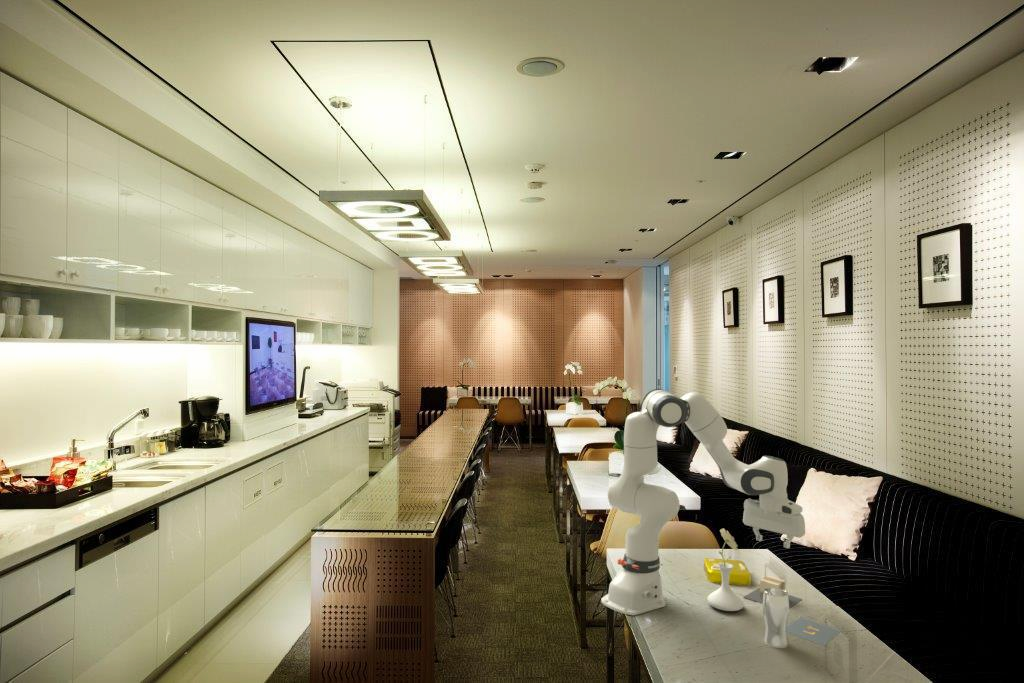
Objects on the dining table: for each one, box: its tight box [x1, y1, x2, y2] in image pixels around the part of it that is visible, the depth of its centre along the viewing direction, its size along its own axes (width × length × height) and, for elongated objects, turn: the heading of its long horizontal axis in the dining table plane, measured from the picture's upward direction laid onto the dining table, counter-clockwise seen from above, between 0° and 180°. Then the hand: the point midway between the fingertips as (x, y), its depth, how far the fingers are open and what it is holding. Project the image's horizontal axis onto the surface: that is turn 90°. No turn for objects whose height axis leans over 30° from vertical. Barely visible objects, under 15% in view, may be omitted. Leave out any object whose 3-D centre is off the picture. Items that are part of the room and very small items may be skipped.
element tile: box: [703, 557, 752, 587], centre depth 217 cm, size 15×15×5 cm
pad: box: [743, 587, 803, 609], centre depth 197 cm, size 14×14×1 cm
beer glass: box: [762, 587, 790, 649], centre depth 167 cm, size 7×7×15 cm
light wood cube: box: [759, 575, 786, 598], centre depth 198 cm, size 6×6×6 cm
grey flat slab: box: [786, 616, 842, 647], centre depth 175 cm, size 14×12×1 cm
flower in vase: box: [706, 528, 745, 612], centre depth 192 cm, size 13×11×25 cm
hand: (772, 543), depth 198 cm, fingers open, 8 cm apart
